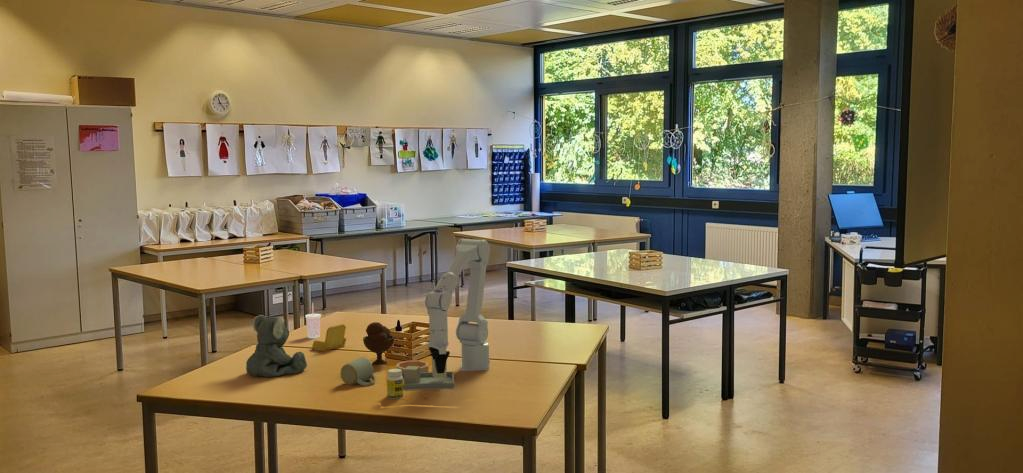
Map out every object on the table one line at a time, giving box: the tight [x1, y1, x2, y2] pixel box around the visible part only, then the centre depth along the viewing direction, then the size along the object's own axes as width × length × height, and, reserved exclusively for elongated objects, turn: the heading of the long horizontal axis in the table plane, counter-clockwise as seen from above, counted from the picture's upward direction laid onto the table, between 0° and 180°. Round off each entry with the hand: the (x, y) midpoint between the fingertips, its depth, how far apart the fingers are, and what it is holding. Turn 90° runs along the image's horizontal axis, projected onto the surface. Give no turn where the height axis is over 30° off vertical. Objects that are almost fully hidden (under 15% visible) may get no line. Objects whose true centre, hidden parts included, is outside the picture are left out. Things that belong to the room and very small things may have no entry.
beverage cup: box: [305, 302, 322, 339], centre depth 314 cm, size 6×6×14 cm
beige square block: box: [404, 366, 420, 384], centre depth 247 cm, size 4×4×5 cm
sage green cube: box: [431, 358, 448, 378], centre depth 249 cm, size 4×4×5 cm
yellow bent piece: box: [311, 323, 347, 352], centre depth 297 cm, size 10×10×9 cm
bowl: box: [395, 360, 430, 373], centre depth 260 cm, size 11×11×3 cm
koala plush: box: [245, 314, 308, 378], centre depth 263 cm, size 17×18×20 cm
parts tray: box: [401, 371, 455, 392], centre depth 249 cm, size 17×17×2 cm
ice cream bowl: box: [362, 321, 395, 367], centre depth 272 cm, size 11×11×15 cm
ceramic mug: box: [340, 356, 376, 387], centre depth 249 cm, size 11×8×8 cm
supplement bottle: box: [386, 368, 404, 400], centre depth 234 cm, size 5×5×8 cm
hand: (439, 371), depth 249 cm, fingers closed on sage green cube, 4 cm apart
